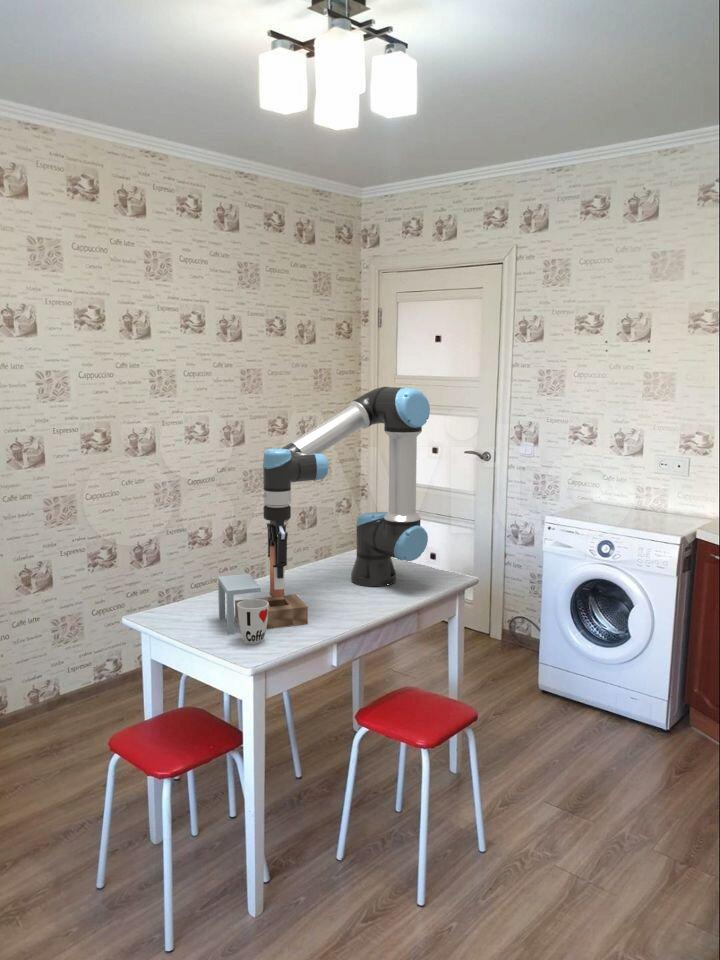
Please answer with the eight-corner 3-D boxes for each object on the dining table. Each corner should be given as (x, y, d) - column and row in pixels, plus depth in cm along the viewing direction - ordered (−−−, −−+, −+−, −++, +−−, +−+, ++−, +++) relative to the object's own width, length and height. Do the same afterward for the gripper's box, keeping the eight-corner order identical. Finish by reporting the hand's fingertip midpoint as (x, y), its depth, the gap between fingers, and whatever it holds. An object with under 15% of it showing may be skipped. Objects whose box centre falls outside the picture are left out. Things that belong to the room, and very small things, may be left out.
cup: (242, 647, 194) (241, 610, 192) (234, 637, 201) (233, 600, 200) (272, 643, 197) (272, 606, 196) (264, 632, 205) (263, 597, 203)
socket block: (295, 610, 223) (295, 594, 222) (307, 623, 212) (307, 606, 211) (235, 617, 216) (234, 600, 216) (244, 631, 205) (243, 613, 205)
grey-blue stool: (249, 614, 219) (249, 573, 217) (261, 630, 206) (260, 587, 204) (218, 617, 216) (218, 576, 214) (228, 634, 203) (227, 590, 201)
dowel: (282, 592, 216) (282, 544, 214) (285, 596, 212) (285, 548, 210) (268, 593, 215) (268, 545, 212) (271, 598, 211) (271, 549, 209)
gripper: (256, 500, 216) (257, 579, 220) (271, 511, 200) (271, 596, 204) (282, 498, 219) (282, 577, 222) (298, 509, 203) (298, 594, 207)
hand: (277, 586), depth 213 cm, fingers closed on dowel, 4 cm apart
